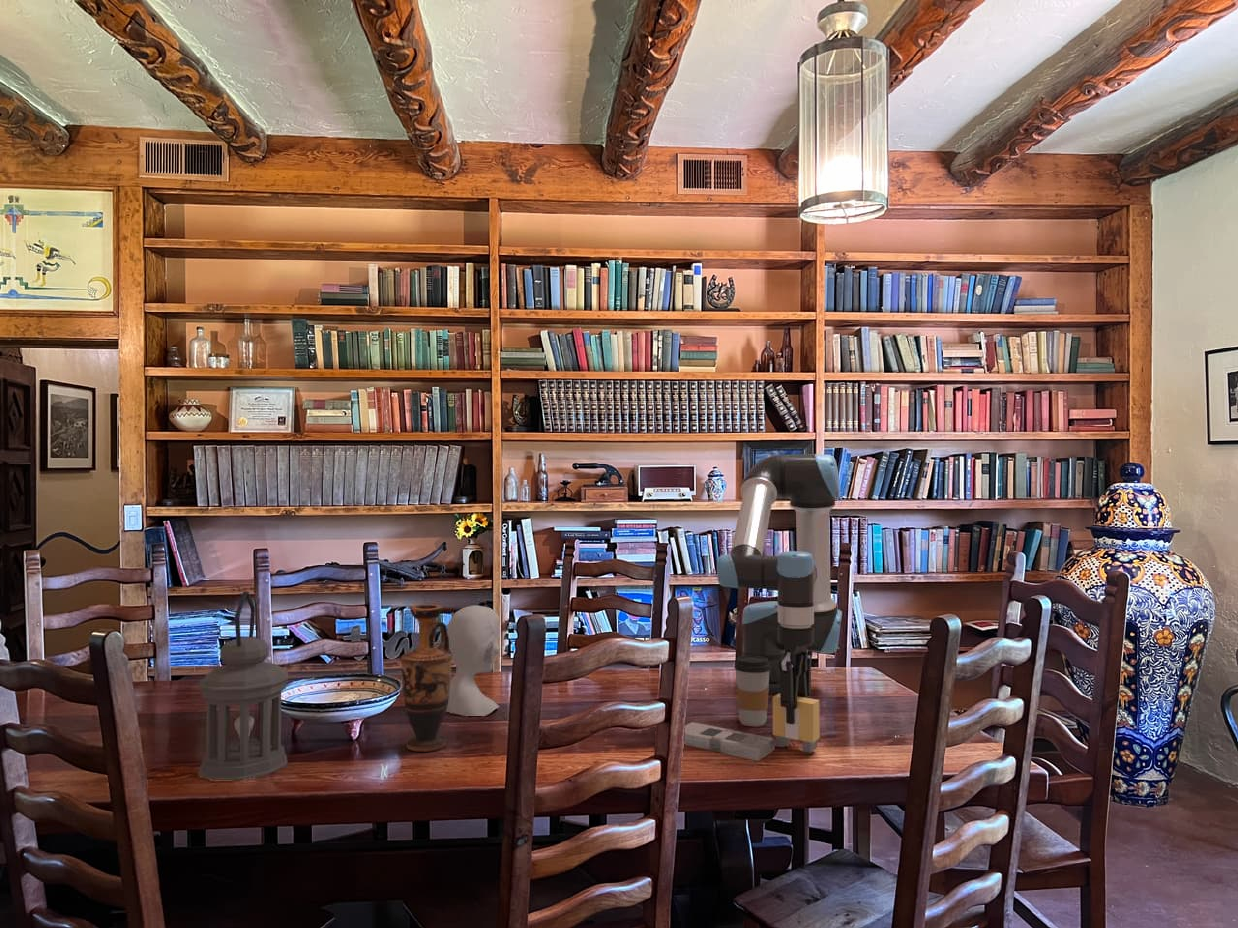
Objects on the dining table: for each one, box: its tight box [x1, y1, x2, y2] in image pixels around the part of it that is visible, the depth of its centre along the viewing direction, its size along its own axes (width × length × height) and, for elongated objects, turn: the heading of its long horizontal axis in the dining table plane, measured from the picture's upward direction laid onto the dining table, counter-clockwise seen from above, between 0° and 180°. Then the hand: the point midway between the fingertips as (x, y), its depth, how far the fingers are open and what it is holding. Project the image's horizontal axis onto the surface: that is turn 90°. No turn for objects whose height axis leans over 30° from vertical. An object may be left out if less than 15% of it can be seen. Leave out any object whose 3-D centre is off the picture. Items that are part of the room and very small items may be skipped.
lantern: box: [197, 590, 290, 780], centre depth 161 cm, size 17×17×35 cm
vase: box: [400, 603, 453, 753], centre depth 173 cm, size 11×11×30 cm
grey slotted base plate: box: [684, 721, 776, 762], centre depth 172 cm, size 20×8×2 cm, turn 56°
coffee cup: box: [734, 655, 770, 727], centre depth 189 cm, size 8×8×15 cm
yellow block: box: [772, 693, 821, 753], centre depth 170 cm, size 9×4×10 cm, turn 56°
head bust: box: [446, 604, 501, 717], centre depth 205 cm, size 22×19×25 cm
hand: (796, 735), depth 170 cm, fingers closed on yellow block, 4 cm apart
